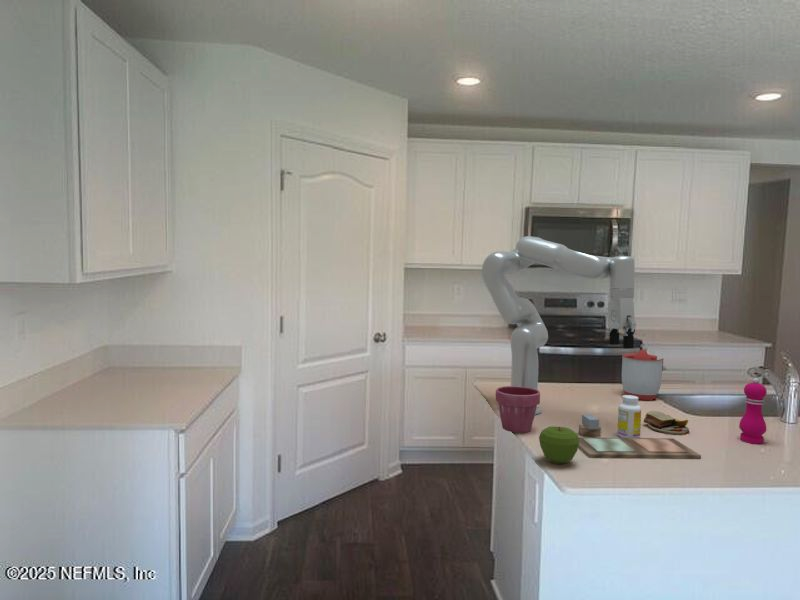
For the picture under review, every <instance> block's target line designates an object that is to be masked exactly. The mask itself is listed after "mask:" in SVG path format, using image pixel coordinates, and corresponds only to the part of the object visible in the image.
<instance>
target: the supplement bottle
mask: <svg viewBox="0 0 800 600" xmlns="http://www.w3.org/2000/svg"><path fill="white" fill-rule="evenodd" d="M621 399H622V403H620V404H619V405H618V410H617V411H618V413H617V436H618V437H619V438H641V419H642V408H641V406H640V405H639V404H638V402H639V399H638V397H637V396H632V395H625V394H623V395H622V397H621Z"/></svg>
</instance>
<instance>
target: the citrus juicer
mask: <svg viewBox="0 0 800 600" xmlns="http://www.w3.org/2000/svg"><path fill="white" fill-rule="evenodd" d="M621 357H622V362H621V385H622V390H623V393H624V395H632V396H637V397H638V400H642V401H643V400H645V401H654V400H655V399H656V398H657V396H658V395H659V391H660V390H661V389H660V388H661V385H662V374H663V371H667V367H666V366H664V358H661V359H660V358H659V359H658V355H654V354H649V353H648V352H647V351H646V350H645V349H644V348H642V349H640V350H639V351H638V352H636V353H623V354H622V355H621ZM653 399H654V400H653Z"/></svg>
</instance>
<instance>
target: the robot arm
mask: <svg viewBox="0 0 800 600" xmlns="http://www.w3.org/2000/svg"><path fill="white" fill-rule="evenodd" d="M536 263H537V264H539V265H543V266H546V267H550V268H553V269H557V270H559V271H562V272H565V273H569V274H572V275H575V276H579V277H583V278H585V279H590V280H597V279H598V280H601V279H608V278H609V302H608V305H607V306H608V308H607V318H606V319H607V323H606V324H607V327H608V332H609V334H608V335H609V338H608V339H609V340H608V342H609V343H608V344H609V345H612V346H613V345H614V346H615V345H620V332H619V331H620V330H622V333H623V335H622V348H623V349H634V346H635V345H634V342H635V341H634V339H635V333H636V327H637V323H636V320H635V305H634V303H635V302H634V299H635V270H636V269H635V268H636V267H635V265H636V264H635V258H634V257H633V256H629V255H628V256H627V255H625V256H624V255H623V256H621V255H620V256H619V255H618V256H612V257H611V256H610V257H608V256H599V255H592V254H587V253H583V252H580V251H576V250H574V249H570V248H569V247H567V246H566V245H564V244H562V243H557V242H554V241H549V240H546V239H543V238H541V237H538V236H529V235H528V236H527V235H526V236H523V237H521V238H520V239H519V240H518V241H517V242H516V245H515V248H514V249H512V250H511V251H506V250H505V251H504V250H502V251H494V252H492V253H490V254H488V255H487V256H486V258H485V259H484V261H483V263H482V267H481V276H482V280H483V283H484V285H485V287H486V288H487V291H488V293H489V294H490V297H491V298H492V300H493V303H494V304H495V307H496V309H497V311H498V312H499V314H500V316H501V318H502V320H503V321H504V322H505V323H506V324H509V325H516V326H517V327H516V328H514V330H513V331H512V333H511V336H510V350H511V374H510V386H519V387H528V388H533V389H536V390H538V389H539V388H538V385H539V384H538V383H539V356H538V355H539V354H538V349H539V348H542V347H544V346H545V345H546V343H547V342H548V340H549V333H548V329H547V327H546V325H545V323H544V321H543V319H542V318H541V316H540V313H539V312H538V310H537V308H536V306H535V305H534V304H533V302H532V301H530V300H529V299H528V298H524V297H519V296H518V294H517V293H516V291H515V289H514V287H513V284H511V282H510V281H509V280H508V279H507V277H506V275H514V274H517V273H519V272H521V271H522V270H525V269H526V268H529V267H530V266H532V265H533V264H536ZM538 391H539V390H538ZM496 403H497V405H498V402H497V401H496ZM541 413H542V409H541V408H540V406H538V405H537V407H536V411H535V415H534V416H536V415H539V414H541Z"/></svg>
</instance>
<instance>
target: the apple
mask: <svg viewBox="0 0 800 600" xmlns="http://www.w3.org/2000/svg"><path fill="white" fill-rule="evenodd" d="M538 440H539V446H540V449H541V451H542V453H543V456H544V457H545V459H547V460H548V461H549V462H550V463H553V464H562V465H563V464H566V463H567V462H570V461H572V460H573V459H574V457H575V455H576V454H577V452H578V445H579V441H580V440H579V434H577V433H576V431H574V430H573V429H571V428H568V427H566V426H565V427H563V426H557V425H554V426H553V425H552V426H547V427H545V428H543V429H542V430H541V432H540V434H539V436H538Z"/></svg>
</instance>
